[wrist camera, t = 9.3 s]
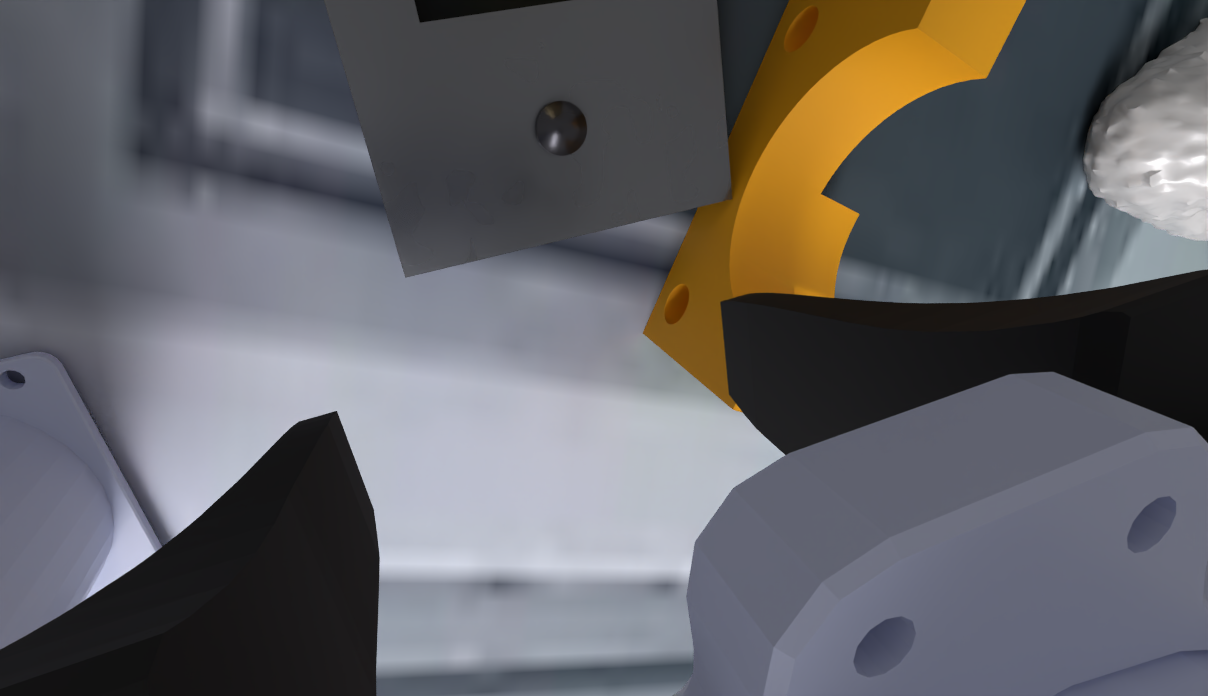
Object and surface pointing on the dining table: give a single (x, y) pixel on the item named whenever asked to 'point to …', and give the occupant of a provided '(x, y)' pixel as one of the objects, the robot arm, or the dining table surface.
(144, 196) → the dining table surface
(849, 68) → the pipe clamp
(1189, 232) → the sitting furry creature
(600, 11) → the metal plate with hole
